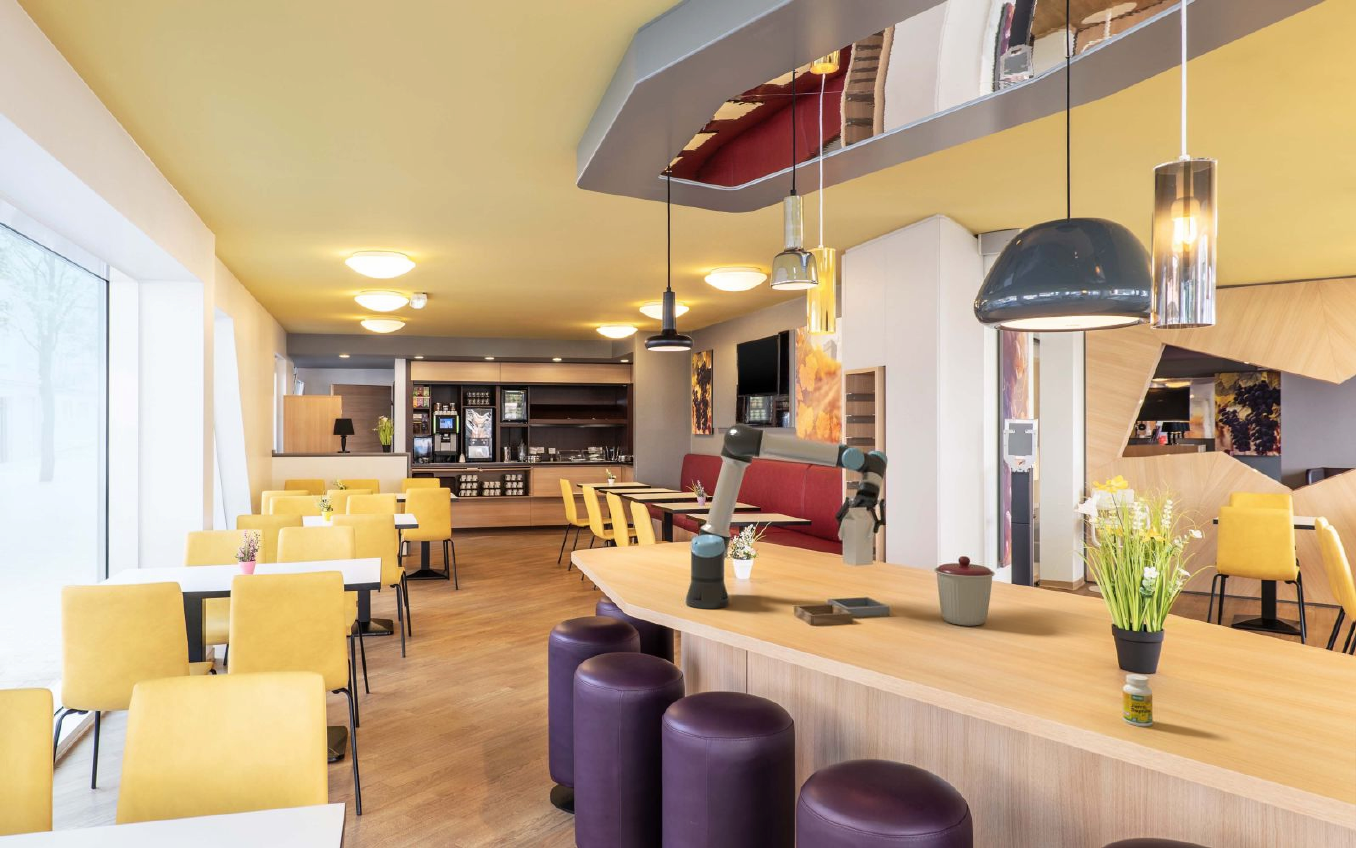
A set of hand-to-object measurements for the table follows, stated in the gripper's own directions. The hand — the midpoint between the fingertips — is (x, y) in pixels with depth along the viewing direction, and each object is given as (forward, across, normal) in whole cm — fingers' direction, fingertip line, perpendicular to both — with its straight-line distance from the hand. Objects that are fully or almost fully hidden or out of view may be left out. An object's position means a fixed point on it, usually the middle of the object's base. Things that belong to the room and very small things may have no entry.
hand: (855, 538), depth 265 cm
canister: (+13, -34, -23) cm, 43 cm away
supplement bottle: (+64, -82, +28) cm, 108 cm away
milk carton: (+4, 0, -9) cm, 10 cm away
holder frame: (+27, +7, -8) cm, 29 cm away
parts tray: (+15, 0, -20) cm, 25 cm away
